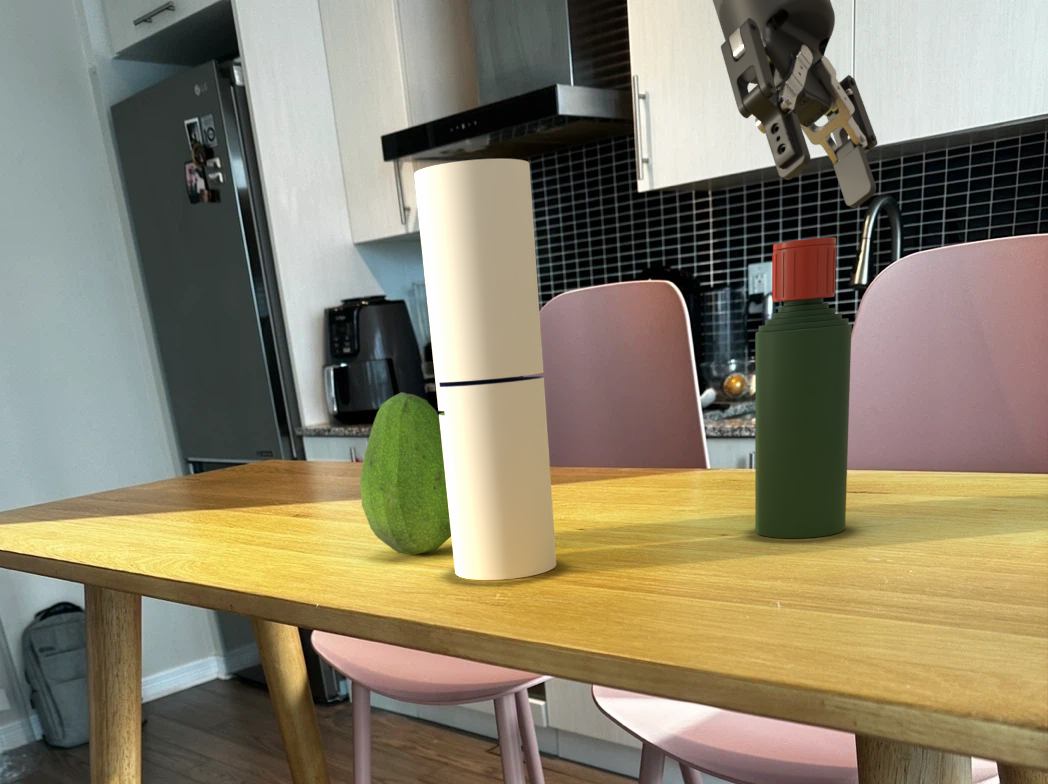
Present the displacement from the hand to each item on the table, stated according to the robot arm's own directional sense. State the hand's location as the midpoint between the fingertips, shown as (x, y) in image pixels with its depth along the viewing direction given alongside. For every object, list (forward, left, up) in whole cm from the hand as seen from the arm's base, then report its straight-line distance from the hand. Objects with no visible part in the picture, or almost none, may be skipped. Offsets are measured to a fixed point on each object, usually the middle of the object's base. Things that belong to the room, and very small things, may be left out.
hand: (830, 186), depth 74 cm
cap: (+6, +4, -7) cm, 10 cm away
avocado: (+31, -10, -23) cm, 40 cm away
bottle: (+6, +4, -23) cm, 24 cm away
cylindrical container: (+28, 0, -23) cm, 36 cm away
